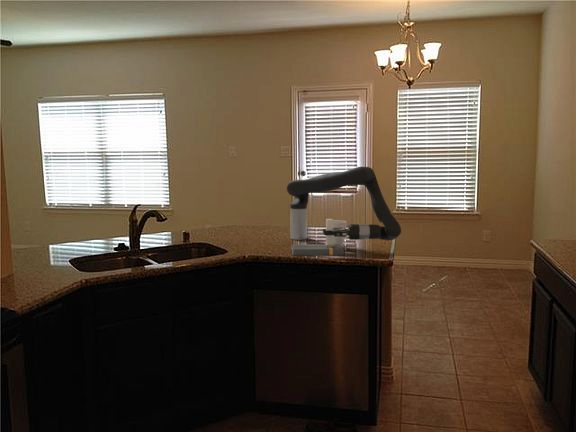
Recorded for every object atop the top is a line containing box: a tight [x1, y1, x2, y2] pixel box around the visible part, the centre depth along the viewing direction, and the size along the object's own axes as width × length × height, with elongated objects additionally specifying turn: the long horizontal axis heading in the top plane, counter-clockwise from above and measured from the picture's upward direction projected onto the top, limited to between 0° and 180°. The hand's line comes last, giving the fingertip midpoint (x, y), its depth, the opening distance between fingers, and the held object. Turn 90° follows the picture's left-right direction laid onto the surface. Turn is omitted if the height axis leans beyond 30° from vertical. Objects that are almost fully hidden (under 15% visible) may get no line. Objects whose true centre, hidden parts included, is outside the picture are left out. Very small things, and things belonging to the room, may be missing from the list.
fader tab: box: [324, 218, 334, 247], centre depth 228 cm, size 4×4×13 cm
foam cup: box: [333, 219, 347, 248], centre depth 244 cm, size 10×9×13 cm
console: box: [291, 243, 345, 257], centre depth 229 cm, size 24×12×3 cm, turn 93°
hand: (323, 232), depth 228 cm, fingers open, 4 cm apart
